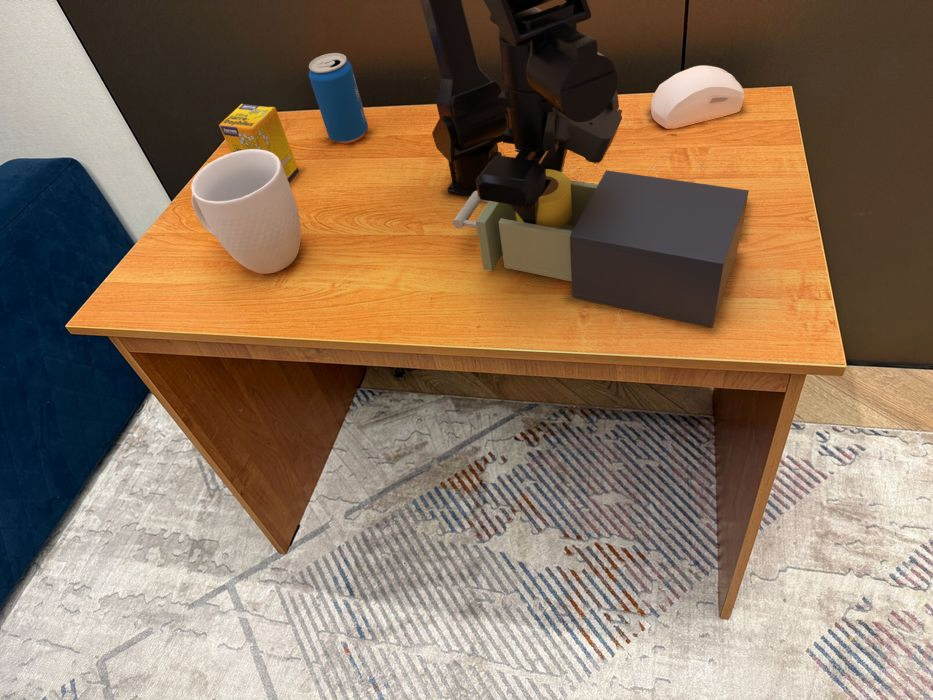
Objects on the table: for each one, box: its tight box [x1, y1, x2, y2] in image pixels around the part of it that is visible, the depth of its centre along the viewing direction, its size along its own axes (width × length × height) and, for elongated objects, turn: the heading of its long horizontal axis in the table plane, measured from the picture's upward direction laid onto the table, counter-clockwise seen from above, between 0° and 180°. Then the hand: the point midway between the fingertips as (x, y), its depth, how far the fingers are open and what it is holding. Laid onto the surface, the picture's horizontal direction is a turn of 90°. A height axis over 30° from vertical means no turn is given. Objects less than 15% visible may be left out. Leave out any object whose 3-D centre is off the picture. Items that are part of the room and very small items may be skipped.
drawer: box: [451, 179, 599, 283], centre depth 82 cm, size 19×11×7 cm, turn 64°
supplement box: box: [218, 103, 300, 183], centre depth 101 cm, size 6×6×11 cm
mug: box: [190, 149, 302, 275], centre depth 88 cm, size 15×11×13 cm
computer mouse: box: [650, 65, 745, 130], centre depth 99 cm, size 6×13×6 cm, turn 102°
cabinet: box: [570, 170, 750, 329], centre depth 76 cm, size 16×12×9 cm
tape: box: [516, 169, 572, 229], centre depth 79 cm, size 6×6×4 cm
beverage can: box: [308, 52, 369, 144], centre depth 106 cm, size 6×6×12 cm
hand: (542, 207), depth 79 cm, fingers closed on tape, 6 cm apart
